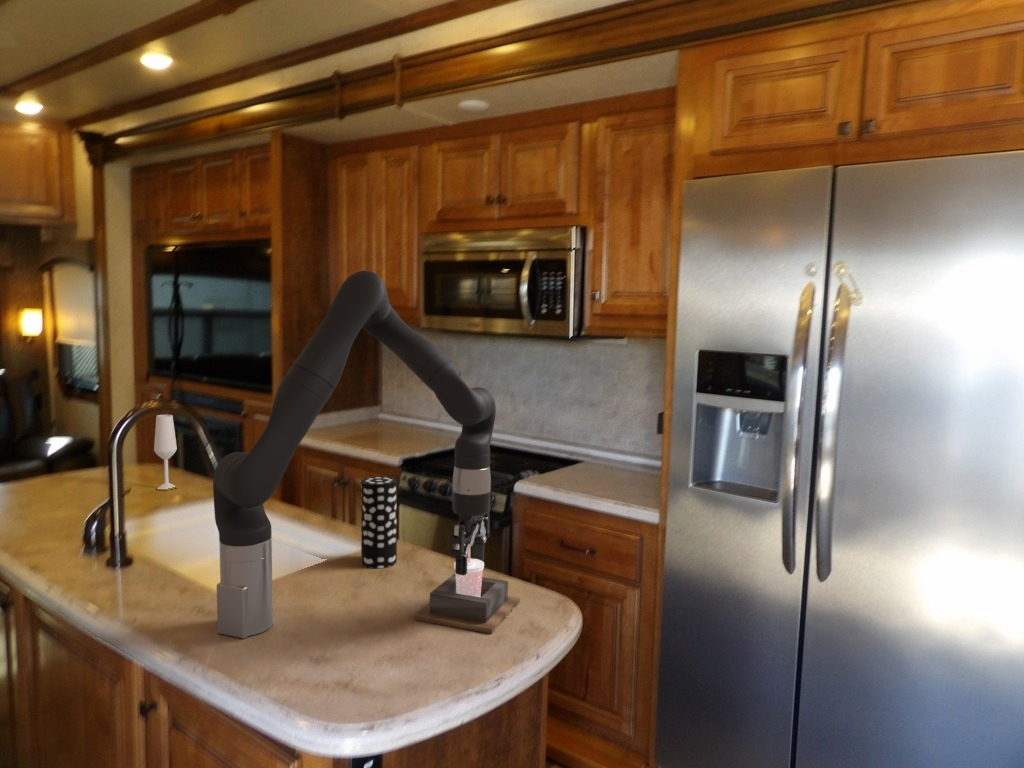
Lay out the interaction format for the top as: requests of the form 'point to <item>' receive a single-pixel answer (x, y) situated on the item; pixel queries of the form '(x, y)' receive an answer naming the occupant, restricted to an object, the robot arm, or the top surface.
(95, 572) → the top surface
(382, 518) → the white-spotted black cylinder
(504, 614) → the cup holder
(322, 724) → the top surface
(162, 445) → the champagne flute
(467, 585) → the beverage cup
